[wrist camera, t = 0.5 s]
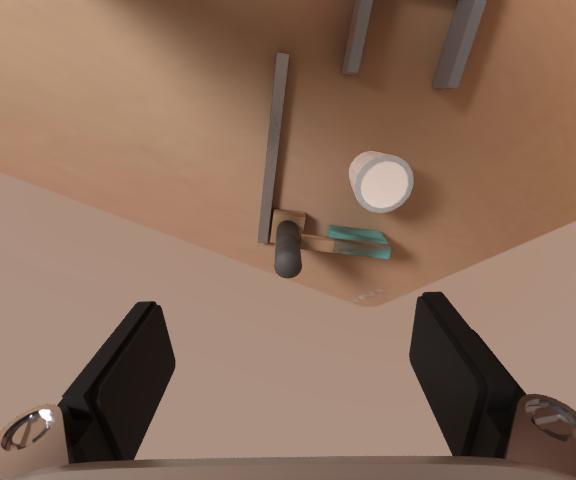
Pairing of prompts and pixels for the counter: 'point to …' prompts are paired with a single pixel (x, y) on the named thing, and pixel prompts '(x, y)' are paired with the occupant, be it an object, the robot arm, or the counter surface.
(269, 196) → the rail
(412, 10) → the counter surface
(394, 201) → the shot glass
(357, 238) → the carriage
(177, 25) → the counter surface
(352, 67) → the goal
